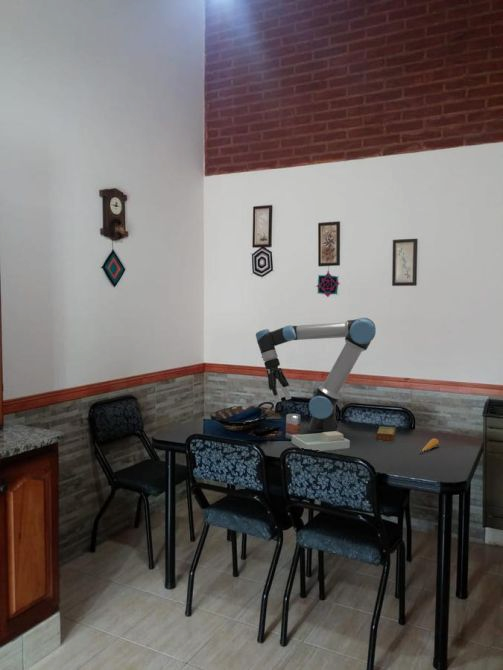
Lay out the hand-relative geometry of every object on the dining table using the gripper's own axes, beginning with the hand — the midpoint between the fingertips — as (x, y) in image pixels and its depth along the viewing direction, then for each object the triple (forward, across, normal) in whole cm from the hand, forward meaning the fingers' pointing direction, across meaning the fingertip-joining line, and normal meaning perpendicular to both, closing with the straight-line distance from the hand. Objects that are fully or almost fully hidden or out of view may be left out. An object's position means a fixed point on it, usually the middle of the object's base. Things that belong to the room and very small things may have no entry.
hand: (283, 400), depth 274 cm
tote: (+26, +6, +13) cm, 30 cm away
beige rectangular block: (+27, +5, +18) cm, 33 cm away
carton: (+33, -27, +36) cm, 56 cm away
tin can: (+19, -1, -2) cm, 19 cm away
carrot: (+42, -14, +56) cm, 71 cm away
